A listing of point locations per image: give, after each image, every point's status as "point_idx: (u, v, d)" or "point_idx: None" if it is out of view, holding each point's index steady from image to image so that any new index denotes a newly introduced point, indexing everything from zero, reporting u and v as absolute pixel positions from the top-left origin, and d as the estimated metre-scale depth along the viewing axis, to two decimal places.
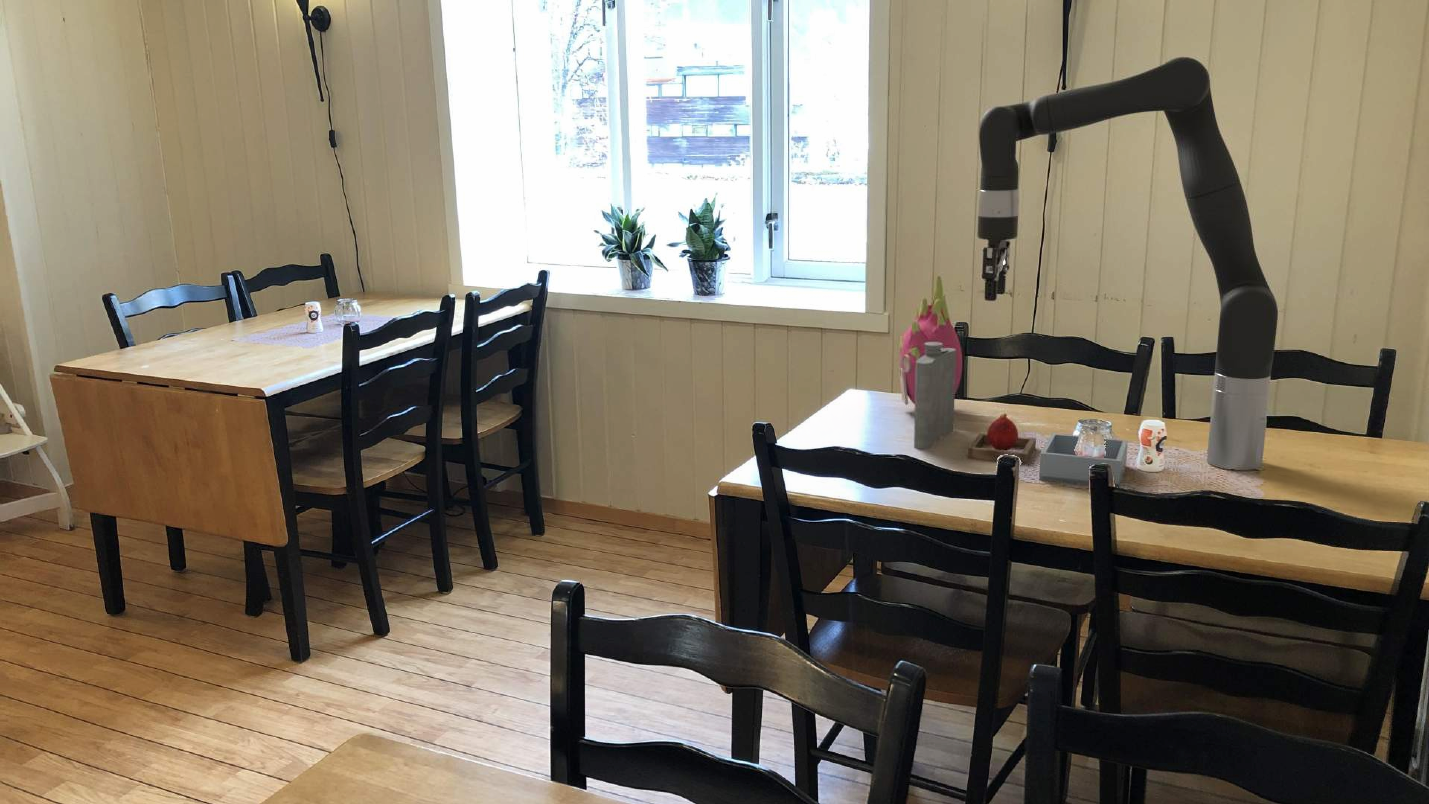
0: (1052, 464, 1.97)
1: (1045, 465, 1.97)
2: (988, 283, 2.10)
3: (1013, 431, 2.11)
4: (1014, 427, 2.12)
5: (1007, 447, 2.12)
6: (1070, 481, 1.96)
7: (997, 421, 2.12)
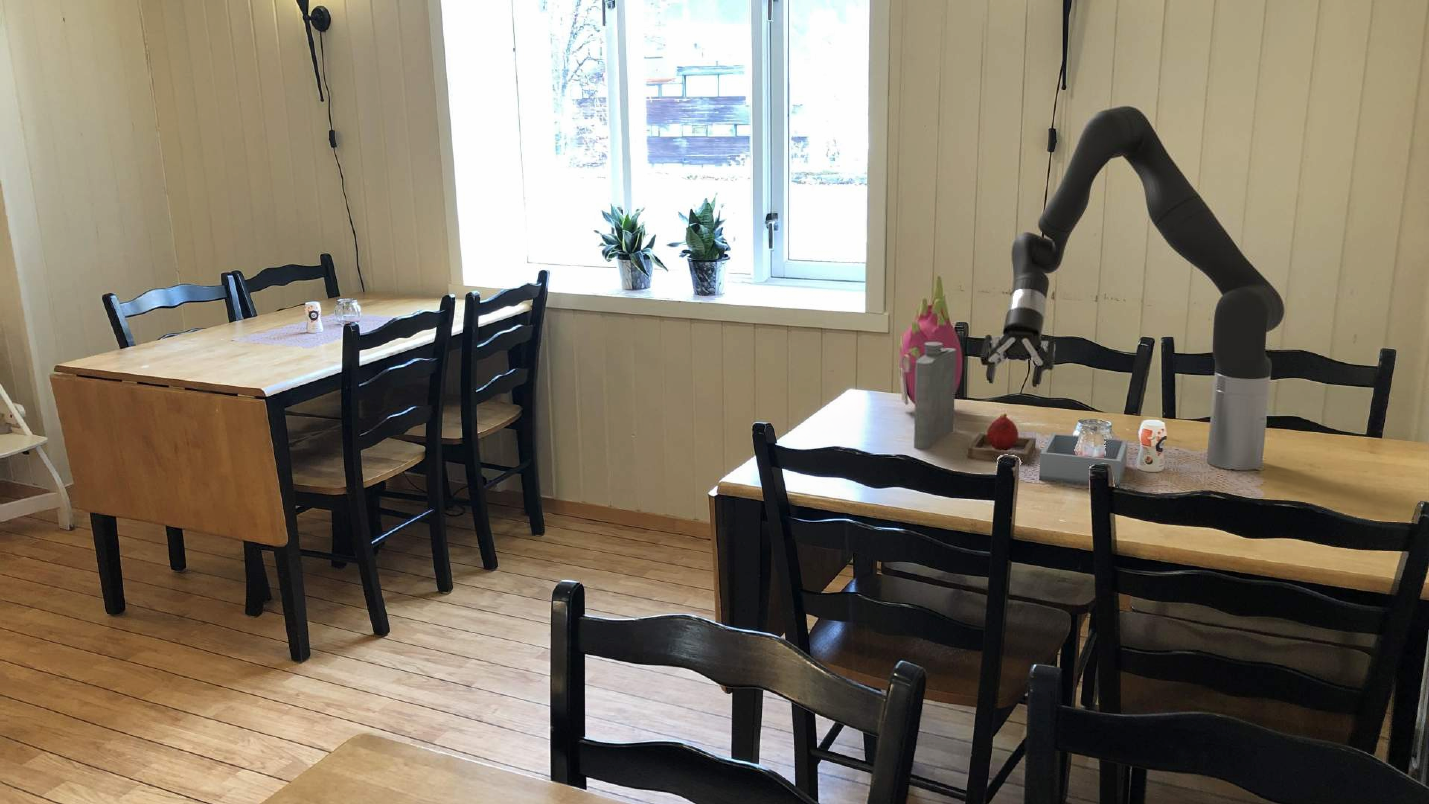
0: (1052, 464, 1.97)
1: (1045, 465, 1.97)
2: None
3: (1013, 431, 2.11)
4: (1014, 427, 2.12)
5: (1007, 447, 2.12)
6: (1070, 481, 1.96)
7: (997, 421, 2.12)
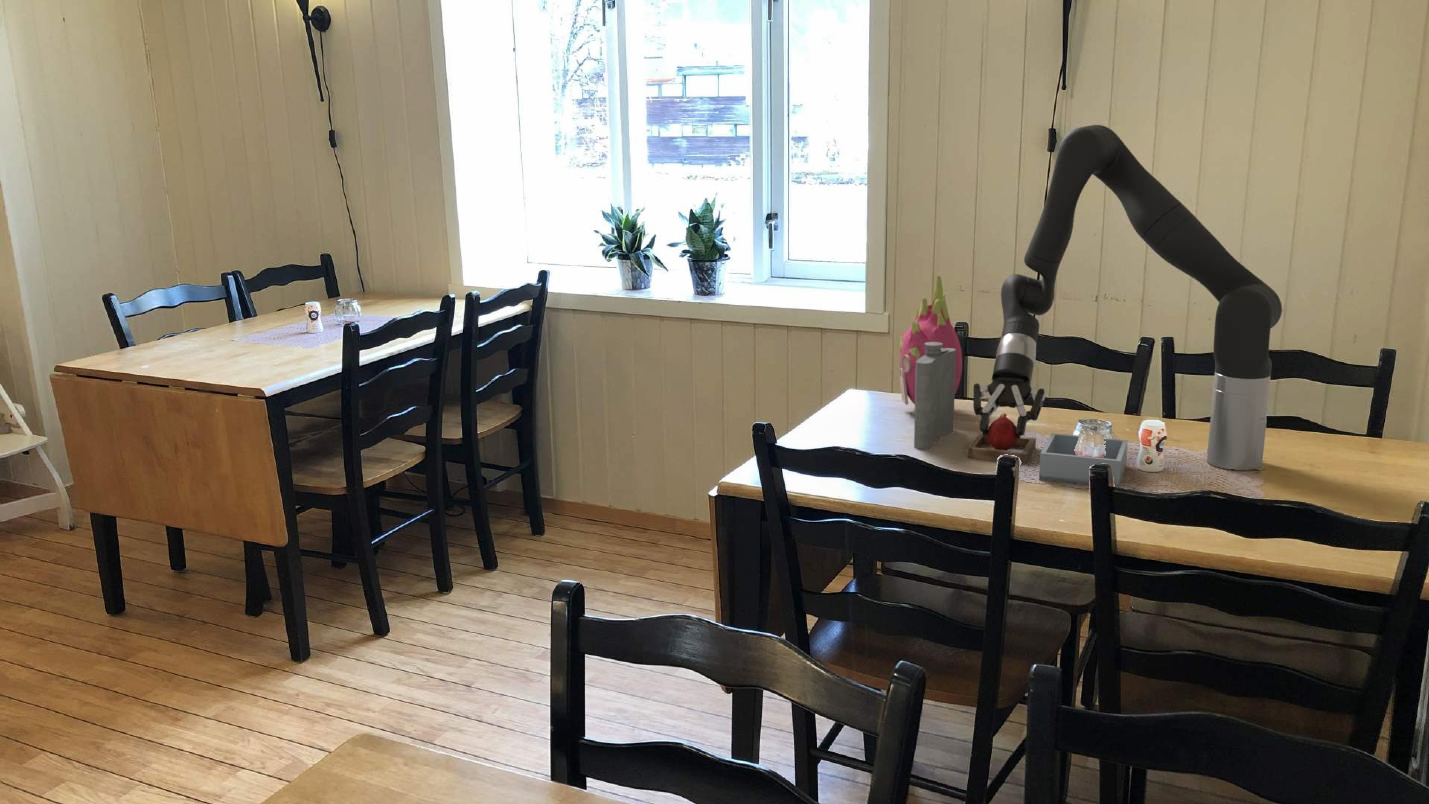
0: (1052, 464, 1.97)
1: (1045, 465, 1.97)
2: None
3: (1013, 431, 2.11)
4: (1014, 427, 2.12)
5: (1007, 447, 2.12)
6: (1070, 481, 1.96)
7: (997, 421, 2.12)
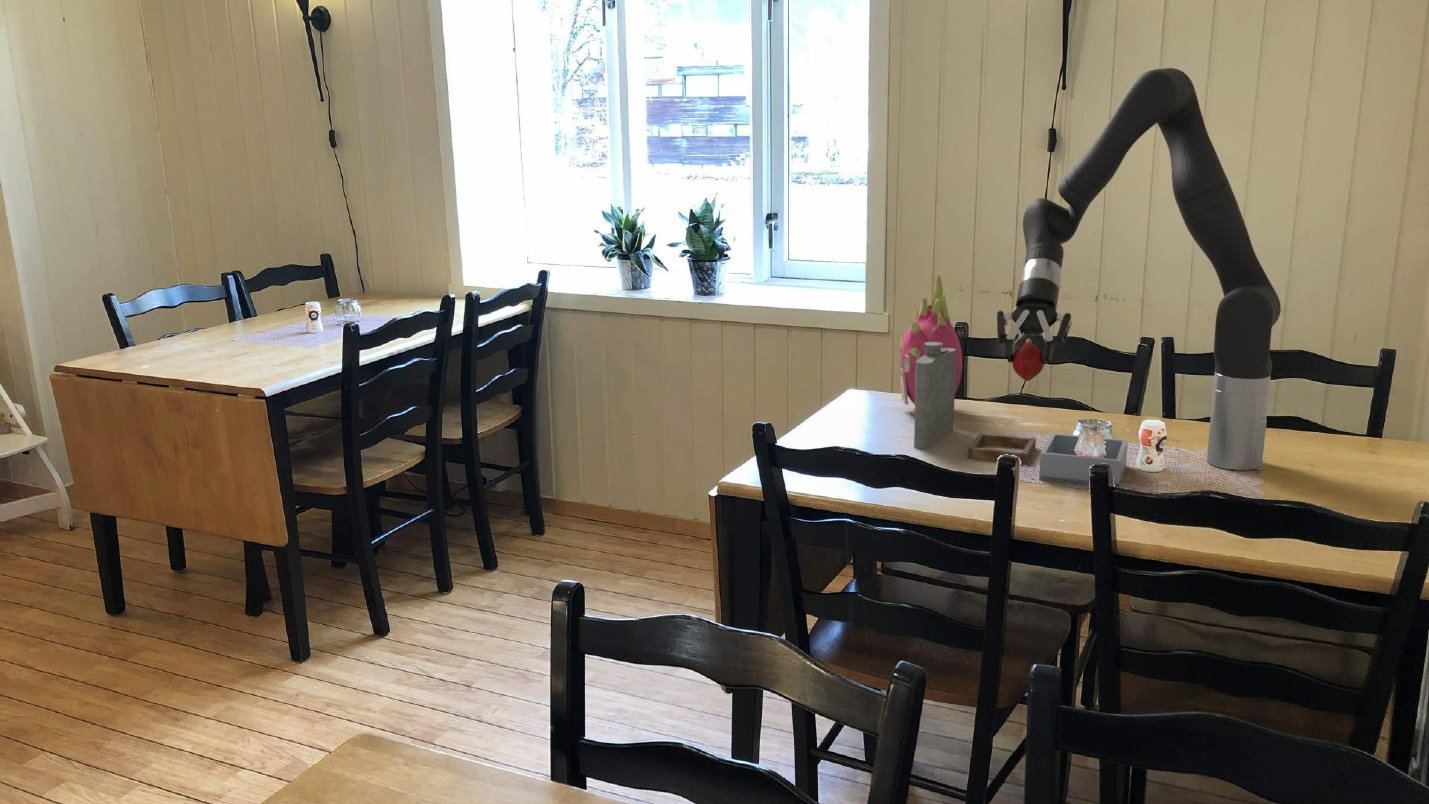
0: (1052, 464, 1.97)
1: (1045, 465, 1.97)
2: None
3: (1039, 356, 2.04)
4: (1040, 353, 2.04)
5: (1033, 374, 2.05)
6: (1070, 481, 1.96)
7: (1022, 347, 2.05)
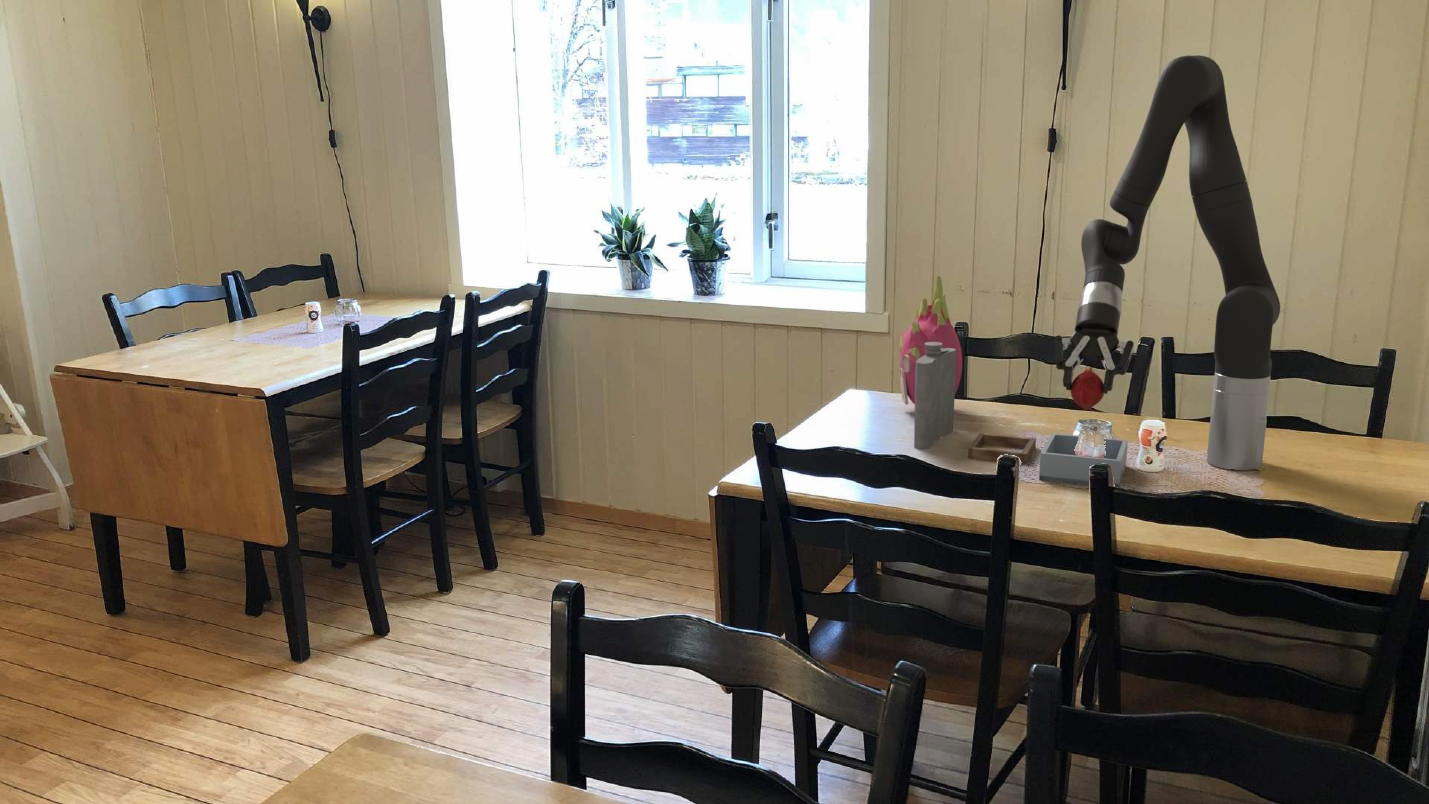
0: (1052, 464, 1.97)
1: (1045, 465, 1.97)
2: None
3: (1100, 385, 1.95)
4: (1101, 381, 1.96)
5: (1093, 403, 1.96)
6: (1070, 481, 1.96)
7: (1082, 375, 1.96)
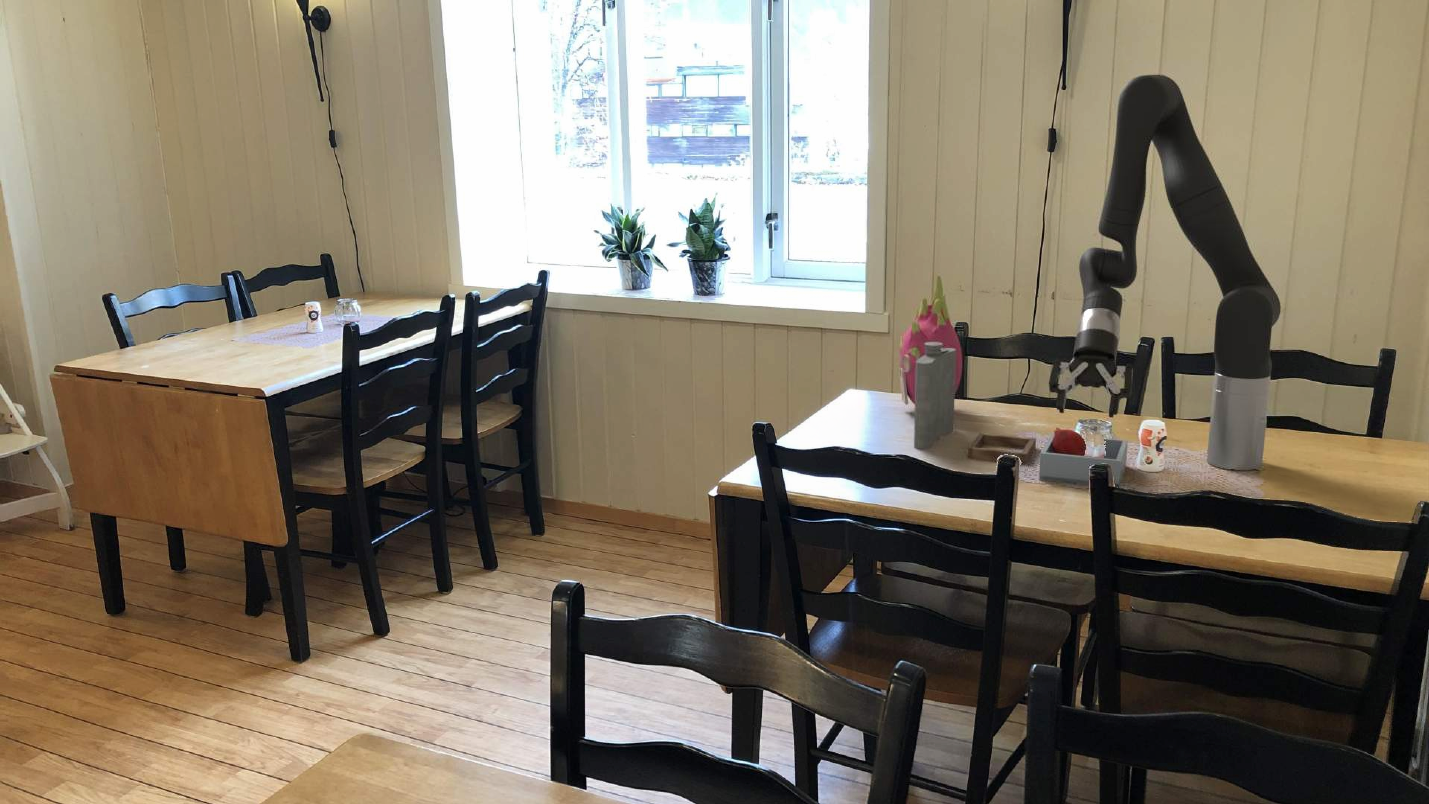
0: (1052, 464, 1.97)
1: (1045, 465, 1.97)
2: None
3: (1073, 434, 2.01)
4: (1072, 431, 2.02)
5: (1079, 451, 2.00)
6: (1070, 481, 1.96)
7: (1054, 437, 2.03)
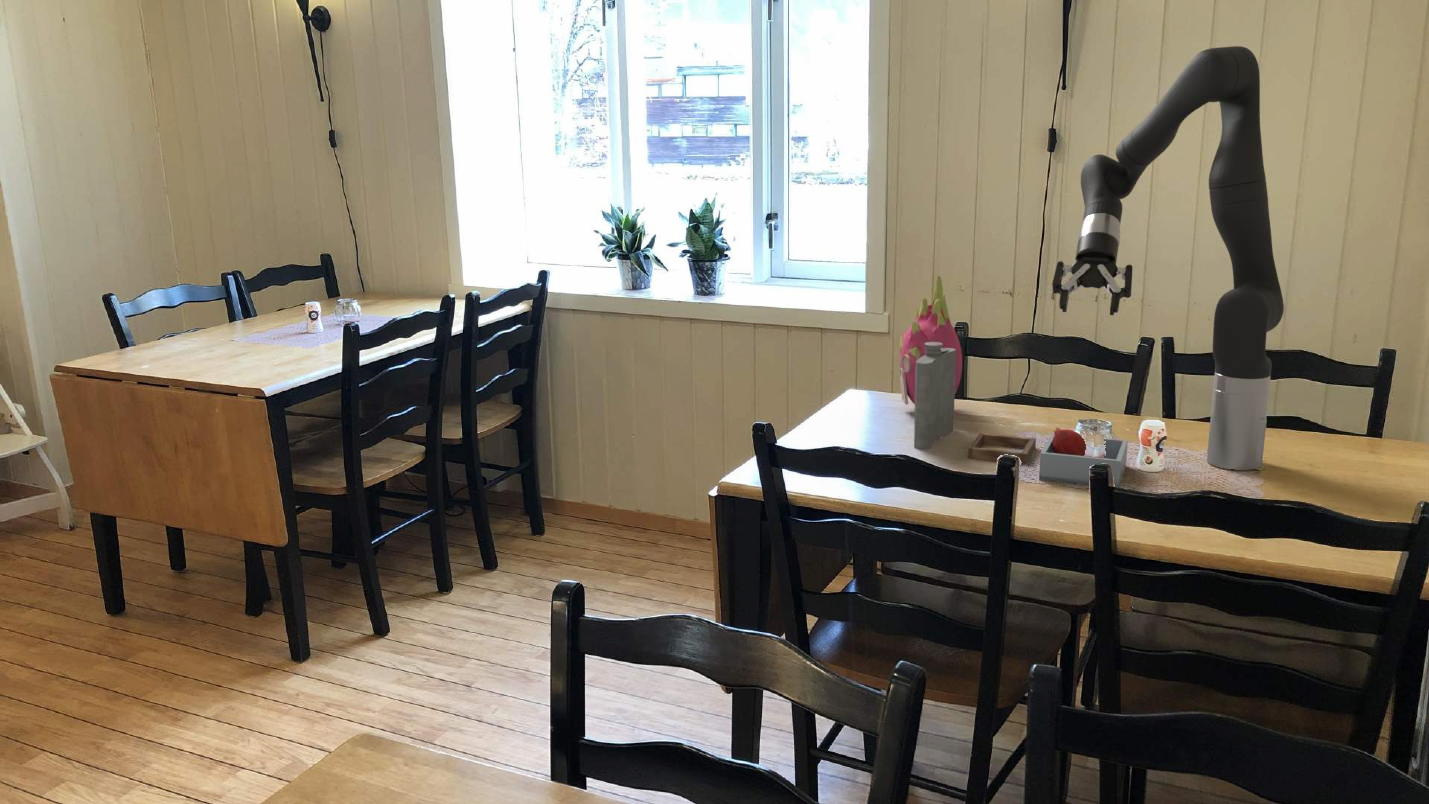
0: (1052, 464, 1.97)
1: (1045, 465, 1.97)
2: None
3: (1073, 434, 2.01)
4: (1072, 431, 2.02)
5: (1079, 451, 2.00)
6: (1070, 481, 1.96)
7: (1054, 437, 2.03)
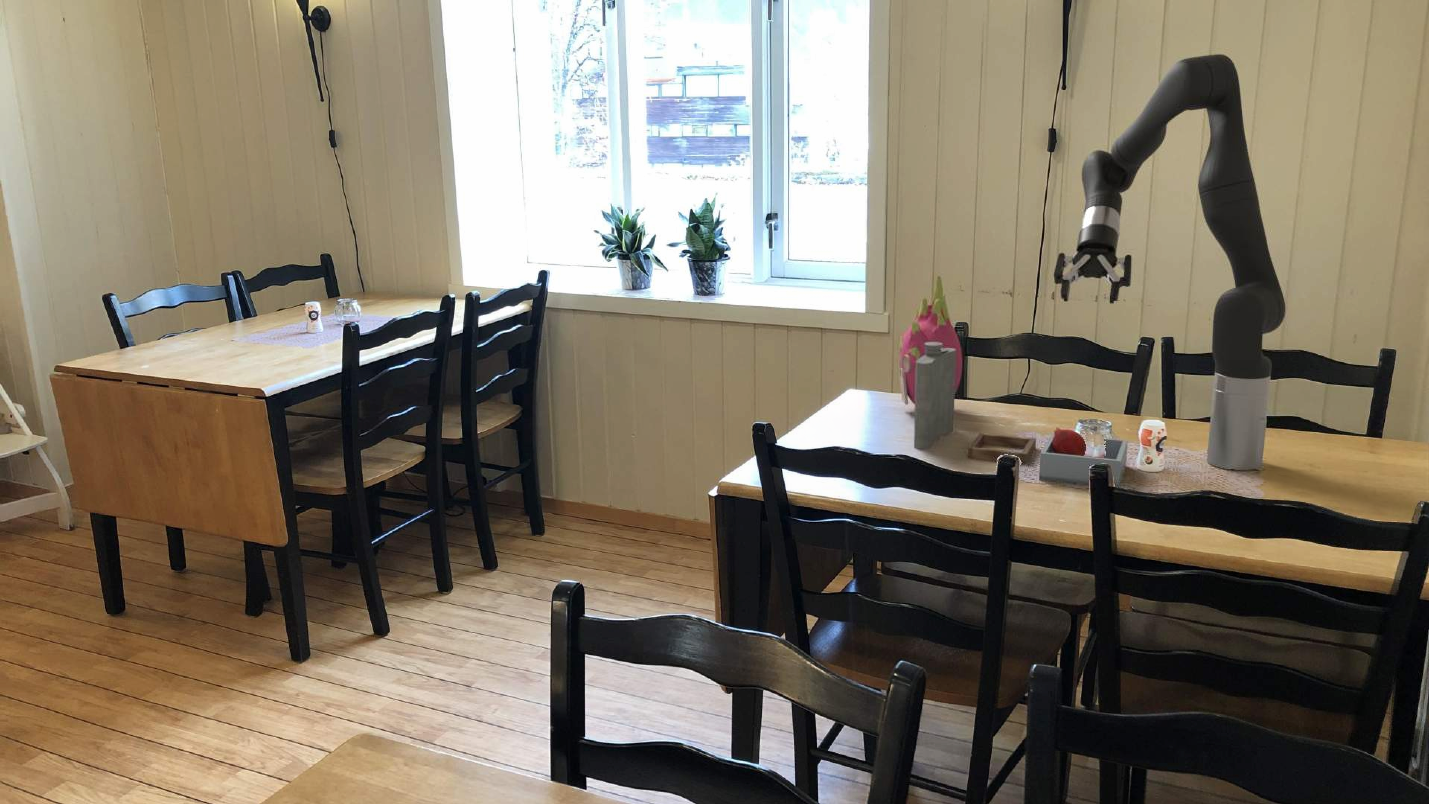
0: (1052, 464, 1.97)
1: (1045, 465, 1.97)
2: None
3: (1073, 434, 2.01)
4: (1072, 431, 2.02)
5: (1079, 451, 2.00)
6: (1070, 481, 1.96)
7: (1054, 437, 2.03)
